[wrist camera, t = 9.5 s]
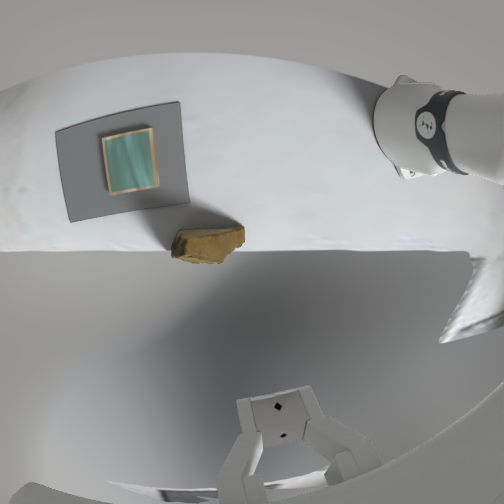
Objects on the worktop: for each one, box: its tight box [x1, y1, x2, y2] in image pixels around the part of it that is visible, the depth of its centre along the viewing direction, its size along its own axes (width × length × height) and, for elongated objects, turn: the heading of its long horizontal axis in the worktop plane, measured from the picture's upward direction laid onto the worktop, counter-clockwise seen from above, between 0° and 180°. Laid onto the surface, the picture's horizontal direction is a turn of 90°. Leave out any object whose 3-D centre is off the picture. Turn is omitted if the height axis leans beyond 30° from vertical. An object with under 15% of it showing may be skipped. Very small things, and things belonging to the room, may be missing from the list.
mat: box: [56, 102, 190, 223], centre depth 32 cm, size 19×14×1 cm
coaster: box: [102, 128, 160, 196], centre depth 32 cm, size 2×8×7 cm
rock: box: [171, 226, 245, 264], centre depth 37 cm, size 11×9×10 cm
